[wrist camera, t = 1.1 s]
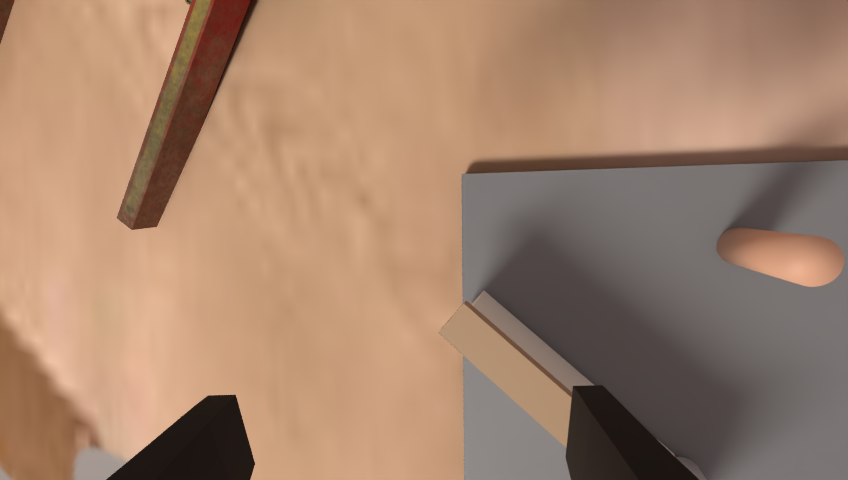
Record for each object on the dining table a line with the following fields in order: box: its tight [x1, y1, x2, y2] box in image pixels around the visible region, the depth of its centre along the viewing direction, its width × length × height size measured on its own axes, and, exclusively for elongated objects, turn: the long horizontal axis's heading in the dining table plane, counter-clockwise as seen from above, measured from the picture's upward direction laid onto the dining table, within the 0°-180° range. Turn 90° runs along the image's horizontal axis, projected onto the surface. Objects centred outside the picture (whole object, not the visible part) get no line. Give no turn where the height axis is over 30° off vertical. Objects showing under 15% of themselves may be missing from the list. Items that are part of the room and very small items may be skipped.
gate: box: [438, 291, 706, 480], centre depth 18 cm, size 13×2×5 cm, turn 51°
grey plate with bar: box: [462, 160, 848, 480], centre depth 16 cm, size 16×22×7 cm
